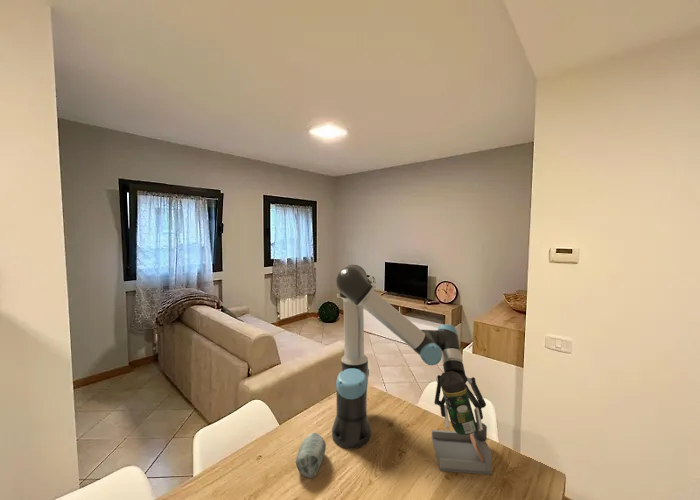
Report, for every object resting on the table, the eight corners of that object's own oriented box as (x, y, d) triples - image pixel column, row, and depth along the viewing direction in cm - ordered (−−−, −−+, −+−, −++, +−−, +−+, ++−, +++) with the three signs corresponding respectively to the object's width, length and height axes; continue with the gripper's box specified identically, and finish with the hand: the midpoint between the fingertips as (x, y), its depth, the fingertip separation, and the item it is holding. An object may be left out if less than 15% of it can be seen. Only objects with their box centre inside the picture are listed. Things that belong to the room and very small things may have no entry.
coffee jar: (448, 421, 103) (435, 371, 103) (469, 416, 103) (456, 366, 103) (457, 438, 93) (443, 384, 94) (480, 433, 93) (466, 379, 93)
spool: (322, 476, 85) (310, 441, 88) (295, 487, 87) (285, 452, 90) (335, 455, 98) (325, 425, 101) (312, 465, 99) (302, 434, 102)
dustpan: (440, 470, 92) (440, 437, 91) (431, 438, 107) (431, 410, 106) (494, 475, 90) (495, 441, 90) (478, 442, 105) (478, 413, 105)
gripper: (480, 368, 112) (495, 434, 96) (422, 365, 114) (428, 428, 99) (485, 360, 106) (502, 428, 91) (424, 357, 109) (431, 423, 93)
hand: (464, 428), depth 95 cm, fingers open, 10 cm apart
